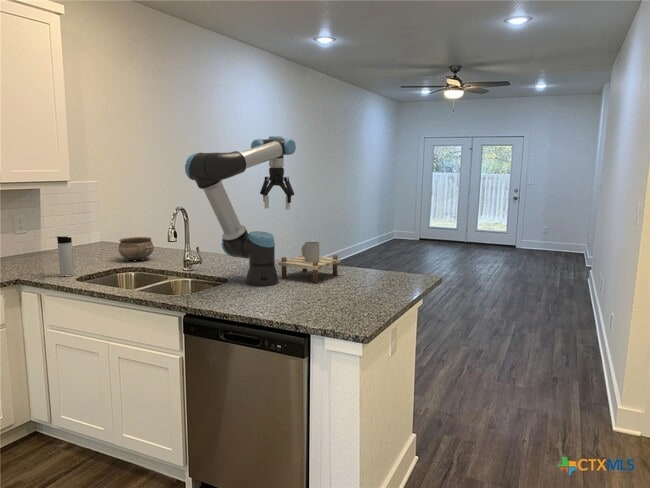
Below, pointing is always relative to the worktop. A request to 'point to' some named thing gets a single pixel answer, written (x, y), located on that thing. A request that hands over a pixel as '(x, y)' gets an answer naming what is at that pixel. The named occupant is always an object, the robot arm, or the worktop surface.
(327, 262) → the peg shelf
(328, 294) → the worktop surface
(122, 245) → the cooking pot
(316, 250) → the cup
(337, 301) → the worktop surface
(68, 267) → the travel mug
